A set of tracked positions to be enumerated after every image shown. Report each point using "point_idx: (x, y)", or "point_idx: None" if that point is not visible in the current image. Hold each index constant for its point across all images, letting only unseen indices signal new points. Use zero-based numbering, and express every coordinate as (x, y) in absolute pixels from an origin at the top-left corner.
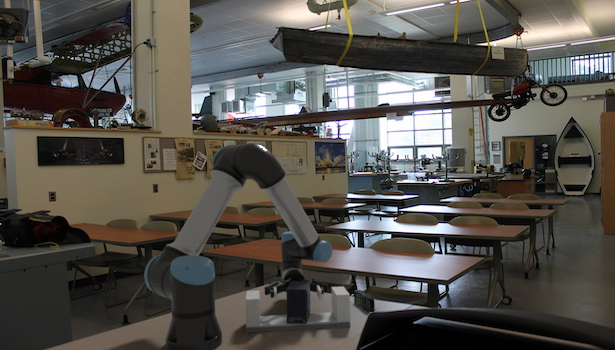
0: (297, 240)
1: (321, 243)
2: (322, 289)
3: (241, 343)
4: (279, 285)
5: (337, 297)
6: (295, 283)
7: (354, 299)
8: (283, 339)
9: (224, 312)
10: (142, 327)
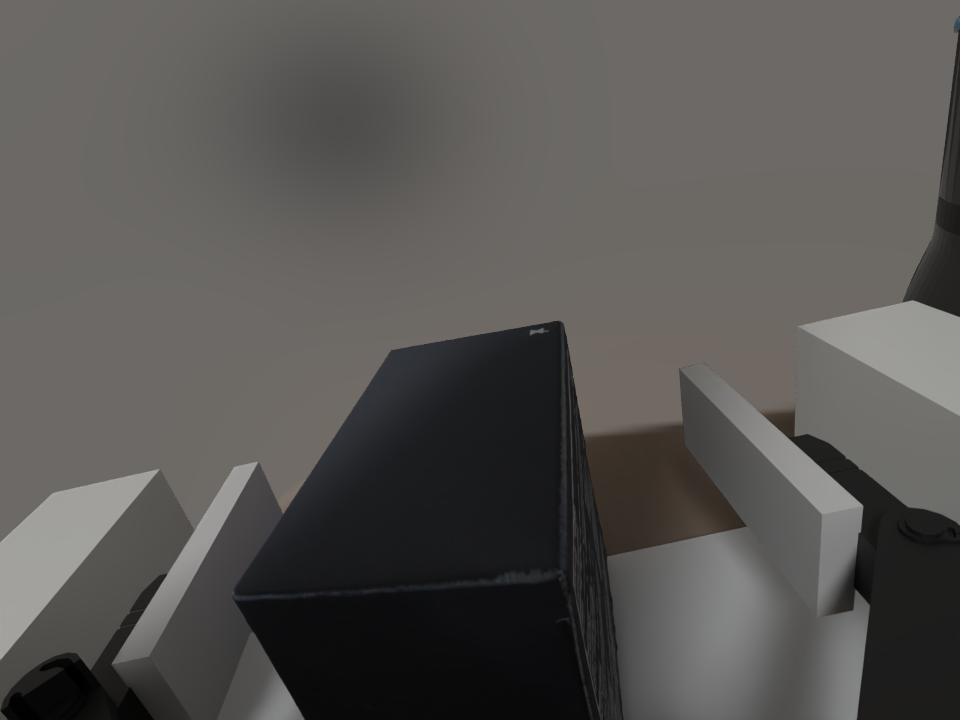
0: None
1: None
2: (159, 585)
3: (791, 415)
4: (870, 670)
5: (161, 485)
6: (477, 436)
7: None
8: (593, 472)
9: None
10: None
